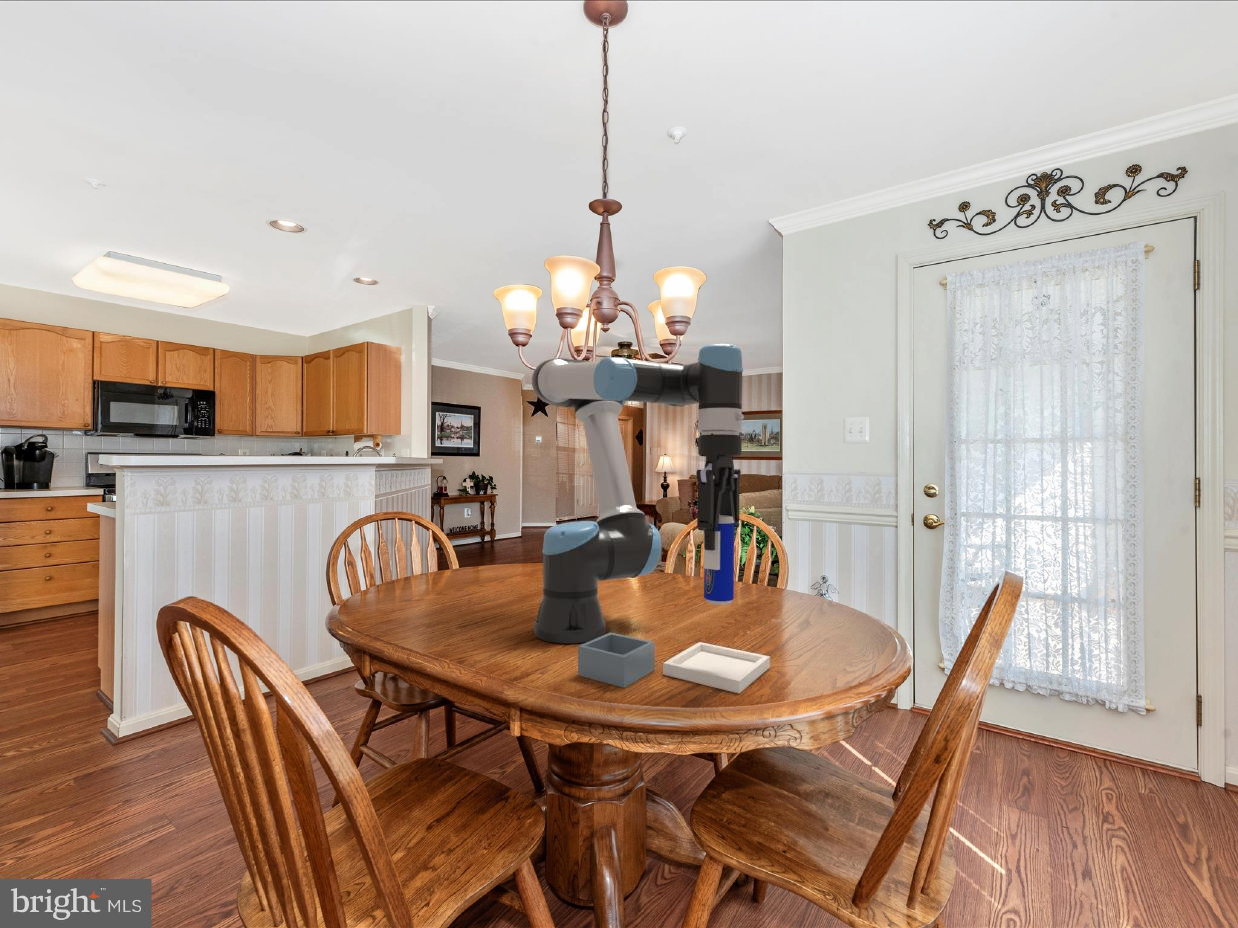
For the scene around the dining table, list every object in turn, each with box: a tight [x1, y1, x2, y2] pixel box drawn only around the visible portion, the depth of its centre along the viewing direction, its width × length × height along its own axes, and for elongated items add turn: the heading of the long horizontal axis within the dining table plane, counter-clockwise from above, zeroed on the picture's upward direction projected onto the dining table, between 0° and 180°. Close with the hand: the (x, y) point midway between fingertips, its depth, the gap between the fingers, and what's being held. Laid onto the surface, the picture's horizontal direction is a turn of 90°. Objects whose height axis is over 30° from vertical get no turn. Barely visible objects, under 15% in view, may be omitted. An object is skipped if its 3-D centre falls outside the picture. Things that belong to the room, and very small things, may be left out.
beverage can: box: [703, 514, 735, 606], centre depth 101 cm, size 5×5×15 cm
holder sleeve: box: [577, 632, 656, 689], centre depth 100 cm, size 10×10×5 cm
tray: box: [662, 641, 771, 695], centre depth 101 cm, size 14×14×2 cm
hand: (718, 565), depth 101 cm, fingers closed on beverage can, 5 cm apart
